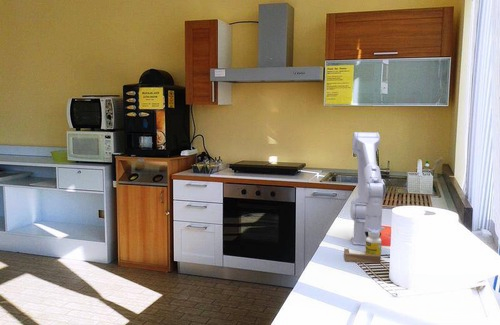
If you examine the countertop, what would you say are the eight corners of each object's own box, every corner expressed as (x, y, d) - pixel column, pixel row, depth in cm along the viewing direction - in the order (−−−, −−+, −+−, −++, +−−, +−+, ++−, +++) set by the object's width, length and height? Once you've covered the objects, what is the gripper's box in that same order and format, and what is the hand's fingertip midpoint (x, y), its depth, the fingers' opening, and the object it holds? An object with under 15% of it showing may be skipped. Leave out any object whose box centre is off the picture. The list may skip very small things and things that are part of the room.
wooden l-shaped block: (344, 255, 176) (344, 248, 176) (378, 257, 174) (378, 250, 174) (345, 261, 169) (345, 254, 169) (380, 263, 167) (380, 256, 167)
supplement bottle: (362, 258, 173) (363, 232, 171) (368, 254, 177) (370, 228, 175) (376, 262, 169) (378, 235, 168) (383, 258, 174) (384, 231, 172)
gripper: (387, 220, 167) (385, 258, 169) (382, 211, 181) (380, 246, 183) (366, 219, 168) (365, 257, 170) (363, 210, 182) (361, 245, 184)
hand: (372, 251), depth 176 cm, fingers closed, pressing on supplement bottle
